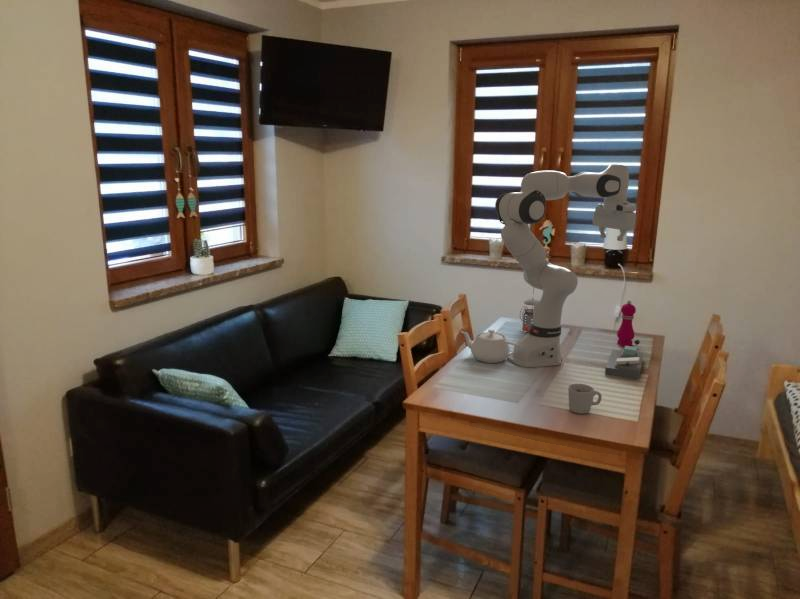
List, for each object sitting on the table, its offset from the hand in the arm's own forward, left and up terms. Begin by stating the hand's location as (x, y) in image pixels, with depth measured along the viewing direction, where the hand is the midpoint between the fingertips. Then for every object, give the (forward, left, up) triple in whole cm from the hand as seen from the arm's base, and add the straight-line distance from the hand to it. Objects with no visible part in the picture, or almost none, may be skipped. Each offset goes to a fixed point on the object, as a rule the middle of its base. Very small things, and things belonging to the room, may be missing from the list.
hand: (611, 239), depth 246 cm
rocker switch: (-14, -28, -42) cm, 53 cm away
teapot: (-52, +9, -48) cm, 71 cm away
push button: (-8, -23, -42) cm, 49 cm away
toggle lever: (-1, -18, -44) cm, 47 cm away
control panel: (-8, -22, -48) cm, 53 cm away
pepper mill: (+14, 0, -48) cm, 50 cm away
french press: (-11, +34, -48) cm, 60 cm away
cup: (-52, -47, -48) cm, 85 cm away
